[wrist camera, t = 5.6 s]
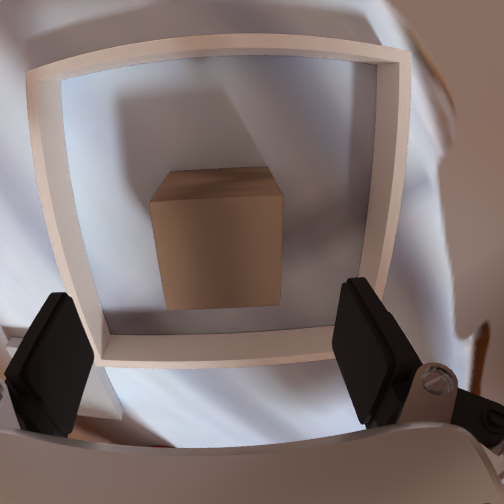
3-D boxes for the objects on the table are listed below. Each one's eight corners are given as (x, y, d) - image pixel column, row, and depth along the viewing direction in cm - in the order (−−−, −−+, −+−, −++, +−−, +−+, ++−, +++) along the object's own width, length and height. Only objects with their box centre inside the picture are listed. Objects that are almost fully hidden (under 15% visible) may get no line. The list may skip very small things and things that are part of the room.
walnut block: (267, 166, 20) (283, 195, 14) (267, 252, 22) (279, 305, 17) (170, 171, 19) (149, 202, 14) (180, 256, 22) (167, 310, 17)
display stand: (93, 342, 25) (88, 354, 24) (123, 409, 30) (121, 420, 28) (11, 336, 24) (5, 346, 23) (48, 400, 29) (45, 409, 28)
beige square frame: (387, 55, 16) (411, 52, 14) (356, 329, 26) (367, 353, 24) (49, 72, 15) (25, 71, 12) (104, 341, 25) (95, 366, 22)
